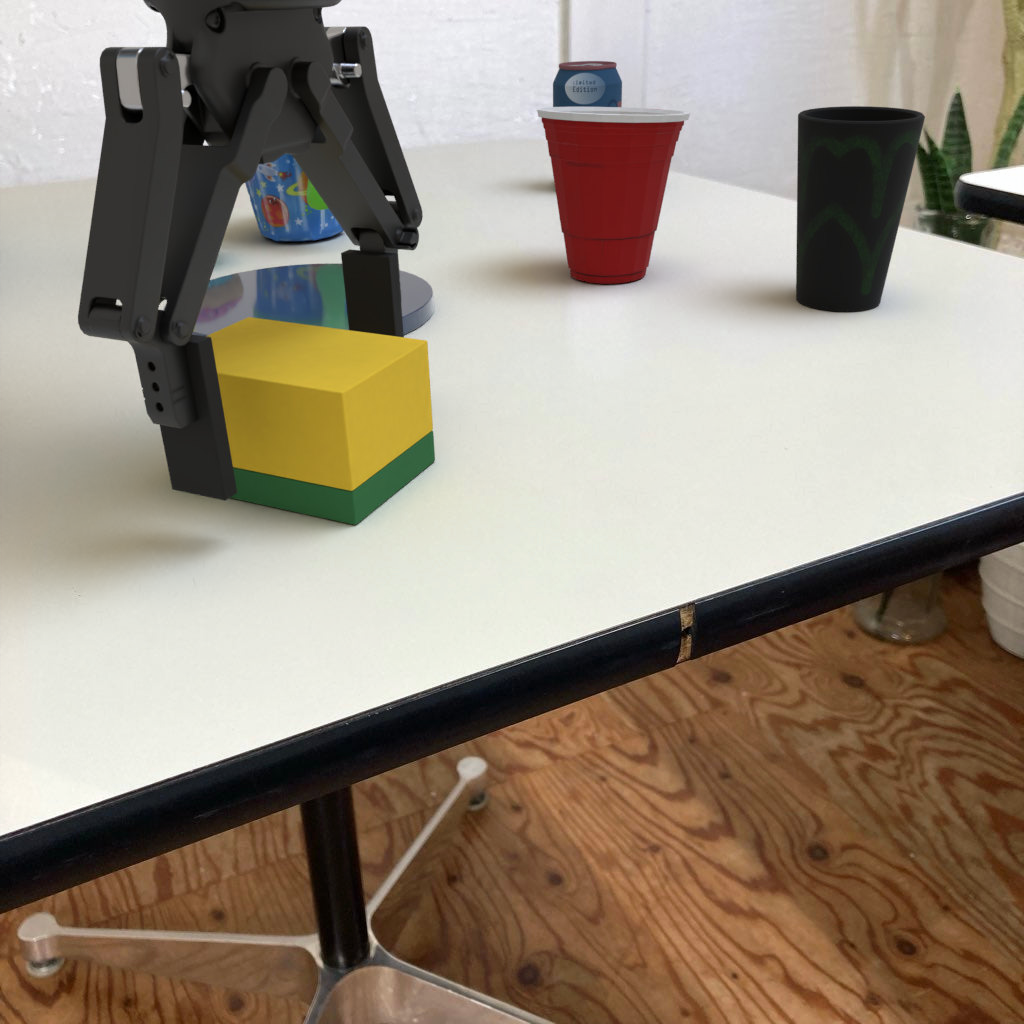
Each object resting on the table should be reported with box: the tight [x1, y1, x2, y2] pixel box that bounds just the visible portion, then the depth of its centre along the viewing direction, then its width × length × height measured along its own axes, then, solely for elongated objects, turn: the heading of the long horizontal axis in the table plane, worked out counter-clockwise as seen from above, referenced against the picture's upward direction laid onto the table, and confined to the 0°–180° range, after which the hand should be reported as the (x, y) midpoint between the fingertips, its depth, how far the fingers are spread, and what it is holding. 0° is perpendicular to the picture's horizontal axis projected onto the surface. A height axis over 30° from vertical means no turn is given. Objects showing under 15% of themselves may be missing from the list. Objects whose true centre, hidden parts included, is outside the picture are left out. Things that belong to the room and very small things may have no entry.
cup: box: [795, 105, 926, 313], centre depth 68 cm, size 8×8×12 cm
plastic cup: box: [536, 106, 691, 285], centre depth 76 cm, size 11×11×12 cm
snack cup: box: [244, 154, 344, 242], centre depth 90 cm, size 16×10×10 cm
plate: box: [162, 263, 435, 336], centre depth 71 cm, size 18×18×1 cm
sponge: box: [207, 317, 436, 526], centre depth 47 cm, size 10×7×6 cm
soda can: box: [552, 60, 623, 107], centre depth 106 cm, size 7×7×12 cm
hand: (302, 430), depth 48 cm, fingers open, 13 cm apart
